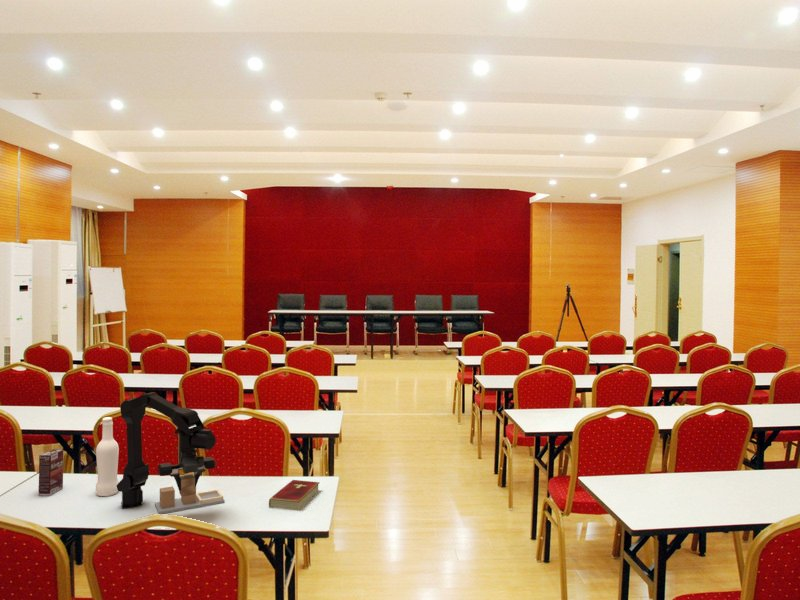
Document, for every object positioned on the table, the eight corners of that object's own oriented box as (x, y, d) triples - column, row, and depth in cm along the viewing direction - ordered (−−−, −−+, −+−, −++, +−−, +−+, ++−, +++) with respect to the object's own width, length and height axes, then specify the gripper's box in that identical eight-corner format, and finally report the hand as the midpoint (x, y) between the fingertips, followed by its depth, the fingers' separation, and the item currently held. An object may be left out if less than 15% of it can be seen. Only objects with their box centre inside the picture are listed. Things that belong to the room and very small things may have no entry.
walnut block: (181, 496, 196) (181, 479, 196) (179, 492, 200) (179, 476, 200) (194, 494, 198) (194, 477, 198) (192, 490, 202) (192, 474, 202)
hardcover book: (268, 508, 207) (268, 497, 207) (291, 489, 228) (291, 479, 227) (298, 512, 204) (299, 500, 204) (319, 491, 225) (319, 481, 225)
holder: (158, 514, 199) (158, 495, 199) (155, 505, 208) (155, 486, 208) (224, 502, 211) (224, 484, 211) (218, 494, 220) (218, 476, 220)
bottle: (123, 490, 223) (123, 415, 222) (110, 497, 215) (111, 420, 214) (104, 489, 224) (104, 414, 223) (91, 496, 216) (91, 419, 215)
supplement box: (50, 496, 215) (50, 455, 215) (37, 496, 215) (38, 455, 215) (64, 488, 224) (64, 449, 224) (52, 488, 224) (52, 449, 224)
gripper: (162, 456, 187) (162, 502, 187) (219, 448, 197) (219, 492, 197) (157, 448, 197) (157, 491, 197) (212, 441, 206) (211, 482, 207)
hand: (187, 489), depth 199 cm, fingers closed on walnut block, 4 cm apart
